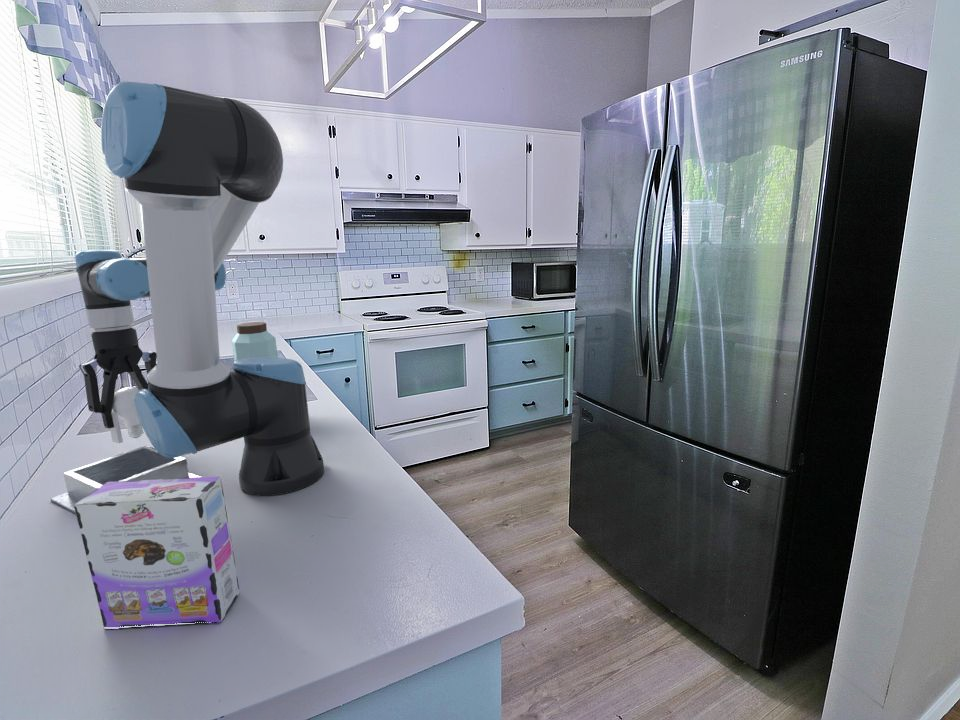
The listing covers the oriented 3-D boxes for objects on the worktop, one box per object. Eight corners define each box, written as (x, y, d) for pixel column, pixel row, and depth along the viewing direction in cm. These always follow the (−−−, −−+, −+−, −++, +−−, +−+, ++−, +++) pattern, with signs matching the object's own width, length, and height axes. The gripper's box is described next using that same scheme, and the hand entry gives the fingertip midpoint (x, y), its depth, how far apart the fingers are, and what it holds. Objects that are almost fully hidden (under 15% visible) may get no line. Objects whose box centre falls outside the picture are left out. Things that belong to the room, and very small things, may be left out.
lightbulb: (136, 443, 105) (125, 391, 102) (111, 442, 106) (99, 391, 104) (161, 432, 111) (151, 383, 109) (136, 432, 112) (126, 383, 110)
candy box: (242, 592, 66) (223, 473, 62) (221, 625, 60) (199, 497, 56) (132, 597, 65) (107, 478, 61) (100, 632, 59) (70, 503, 56)
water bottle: (294, 418, 131) (282, 322, 125) (259, 431, 123) (245, 328, 117) (269, 413, 136) (257, 320, 130) (234, 424, 128) (220, 326, 122)
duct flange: (206, 480, 97) (202, 456, 96) (99, 526, 82) (93, 498, 81) (155, 462, 106) (151, 440, 105) (51, 500, 91) (44, 475, 90)
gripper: (152, 321, 114) (171, 420, 118) (48, 335, 98) (74, 449, 102) (171, 322, 110) (189, 424, 114) (65, 336, 94) (92, 455, 99)
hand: (135, 436), depth 108 cm, fingers closed on lightbulb, 6 cm apart
